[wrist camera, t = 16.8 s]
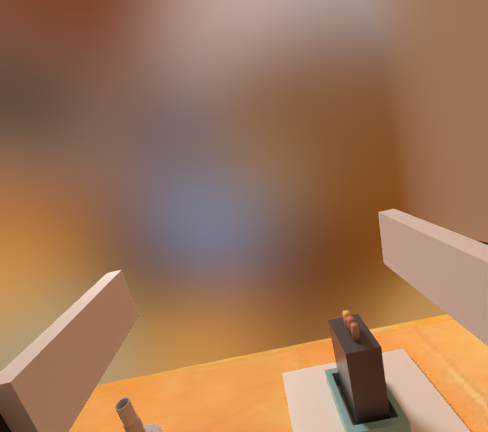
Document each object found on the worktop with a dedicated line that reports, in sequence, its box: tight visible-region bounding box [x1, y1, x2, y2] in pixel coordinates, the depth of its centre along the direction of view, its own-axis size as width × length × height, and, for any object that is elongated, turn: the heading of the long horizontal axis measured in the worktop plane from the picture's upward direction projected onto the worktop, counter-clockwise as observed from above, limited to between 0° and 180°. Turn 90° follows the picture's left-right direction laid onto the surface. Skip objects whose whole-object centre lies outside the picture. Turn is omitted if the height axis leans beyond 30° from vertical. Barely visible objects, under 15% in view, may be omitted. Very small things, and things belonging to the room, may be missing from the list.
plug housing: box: [329, 310, 390, 425], centre depth 33 cm, size 4×6×14 cm, turn 0°
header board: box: [282, 349, 470, 432], centre depth 35 cm, size 20×16×4 cm
